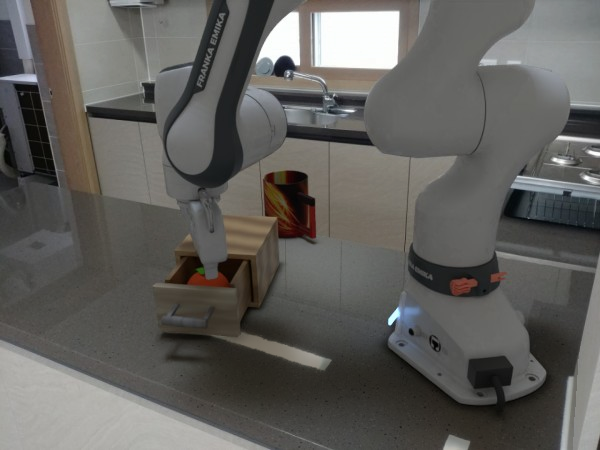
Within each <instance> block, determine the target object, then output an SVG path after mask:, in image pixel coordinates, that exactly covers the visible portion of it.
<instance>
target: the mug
mask: <svg viewBox="0 0 600 450" xmlns="http://www.w3.org/2000/svg"><path fill="white" fill-rule="evenodd" d="M262 189H263V206H264V217H277V220H278V221H277V222H278V239H291V238H293V239H294V238H298V237H302V236H306V237H307V238H309V239H311V240H314V239H317V219H316V218H317V217H316V198H315V197H313V196H311V195H309V175H308V174H307V173H306V172H303V171H299V170H293V169H291V170H290V169H283V170H282V169H281V170H275V171H271V172H268V173H266V174H264V175H263V177H262Z"/></svg>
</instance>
